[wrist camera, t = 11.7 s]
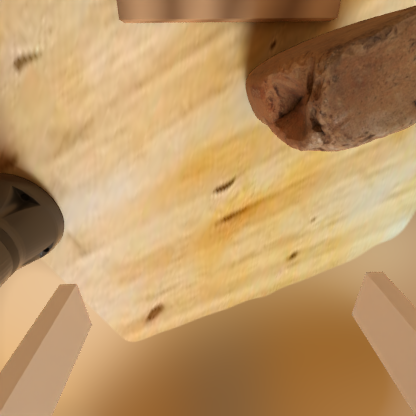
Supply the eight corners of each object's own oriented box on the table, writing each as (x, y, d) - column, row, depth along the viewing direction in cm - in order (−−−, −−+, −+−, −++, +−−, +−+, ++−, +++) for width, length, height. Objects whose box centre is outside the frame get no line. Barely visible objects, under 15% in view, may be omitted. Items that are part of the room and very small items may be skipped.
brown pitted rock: (323, 32, 30) (489, -31, 12) (332, 96, 33) (474, 120, 15) (236, 70, 32) (271, 62, 14) (253, 127, 35) (299, 179, 17)
